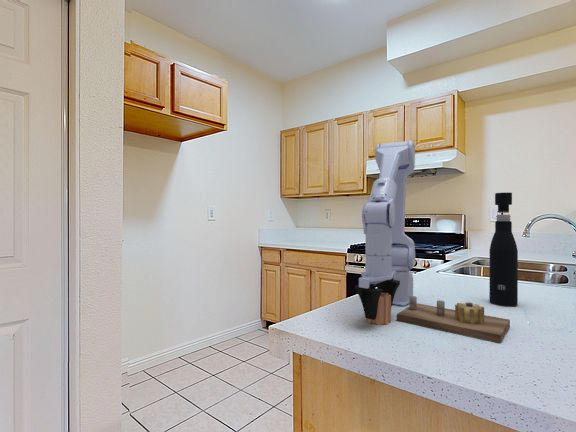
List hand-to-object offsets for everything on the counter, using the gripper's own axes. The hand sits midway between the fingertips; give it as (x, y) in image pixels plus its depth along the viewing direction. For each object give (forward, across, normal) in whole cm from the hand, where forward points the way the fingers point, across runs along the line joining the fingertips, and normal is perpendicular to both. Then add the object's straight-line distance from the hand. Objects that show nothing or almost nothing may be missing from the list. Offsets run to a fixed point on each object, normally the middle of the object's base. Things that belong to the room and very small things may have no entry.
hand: (378, 314), depth 74 cm
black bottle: (+2, -36, +19) cm, 41 cm away
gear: (+1, 0, 0) cm, 1 cm away
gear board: (+1, -9, +13) cm, 16 cm away
